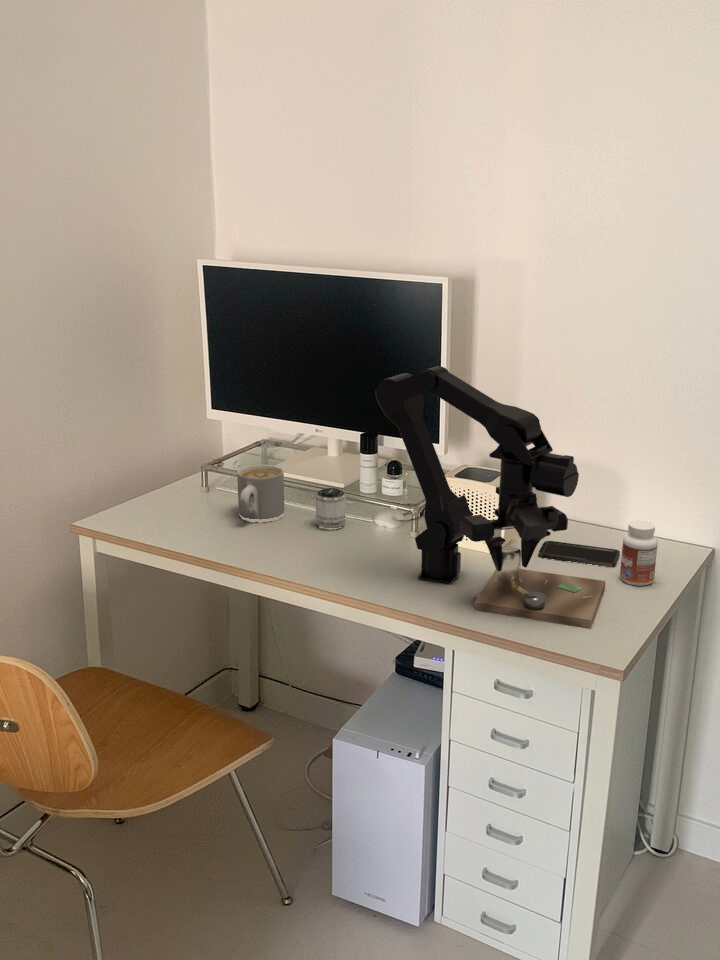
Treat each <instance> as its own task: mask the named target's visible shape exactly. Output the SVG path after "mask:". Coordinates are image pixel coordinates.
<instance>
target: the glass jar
mask: <svg viewBox="0 0 720 960" xmlns="http://www.w3.org/2000/svg"><path fill="white" fill-rule="evenodd" d="M346 496H347V495H346V493H345V492H344V491H343V490H342V489H339V488H337V487H327V488H322V489H320V490H318V491H317V492H316V495H315V517H316V523H317V526H318V525H319V526H321V527H324V528H339V527H342V526H343V525H344V526H345V523H346V517H347V513H346V511H347V509H346V501H347V500H346V499H347V497H346ZM345 514H346V516H345Z"/></svg>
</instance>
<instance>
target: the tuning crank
mask: <svg viewBox="0 0 720 960" xmlns="http://www.w3.org/2000/svg"><path fill="white" fill-rule="evenodd" d="M520 569H521V548H519V547H517V546H510V545H509V546H502V566H501V571H498V570H497V575H495V578H496V579H497V583H498V584H500V585H502V586H507V587H508V588H510V589H511V590H513V591H514V592H516V593H517V594H519V595H521V596H522V597H524V605H525V606H526V607H527V608H530V609H541V608H544V607H545V599H546V596H545V595H544V594H542V593H539V592H527V591H526V590H524V589H522V588H521V587H519V586H518V584H519V577H520Z"/></svg>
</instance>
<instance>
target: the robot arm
mask: <svg viewBox="0 0 720 960" xmlns="http://www.w3.org/2000/svg"><path fill="white" fill-rule="evenodd" d="M428 392H429V393H431V394H433V395H434V396H436V397H438V398H439V399H441V400H443V401H444V402H445V403H448V404H449V405H451V406H452V407H454V408H456V409H457V411H458V410H459V411H461V412H462V413H463V414H465V415H466V416H468V417H469V418H471V419H473V420H474V421H476V422H478V423H479V424H481V426H483V427H484V428H485V431H487V434H488V435H489V438H491V439H492V440H493V441H494V442H495V443H496V444H497V447H496V449H494V450H493V451H492V452H490V453H489V458H493V459H496V460H497V459H498V460H500V471H499V472H500V474H499V486H495V493H496V494H497V495H498V508H495V509H494V515H495V516H496V517H497V519H491V520H489V519H488V518H486V517H485V516H483V515H482V514H475V515H474V513H473V512H472V511H471V509H470V506H469V504H468V500H467V497H466V496H465V495H464V494H463V495H460V496H458V495H456V494H455V493H454V491H452V490H451V487H450V485H449V482H448V480H447V477H446V475H445V473H444V470H443V466H442V464H441V462H440V459H439V456H438V454H437V451H436V448H435V446H434V443H433V440H432V437H431V435H430V433H429V430H428V428H427V425H426V423H425V419H424V409H425V407H424V406H425V399H424V394H425V393H428ZM375 397H376V401H377V403H378V405H379V407H380V409H381V410H382V412H383V414H384V415H385V417H386V418H388V419H389V421H391V422H392V424H394V425H395V426H396V427H397V429H398V431H399V433H400V436H401V439H402V441H403V444H404V446H405V450H406V452H407V454H408V457H409V460H410V463H411V465H412V468H413V470H414V472H415V475H416V478H417V481H418V483H419V486H420V489H421V491H422V493H423V497H424V500H425V503H424V506H425V511H424V515H423V517H424V522H425V526H426V529H424V530H423V531H422V532H421V533H419V534H418V535H417V536H416V537H415V538H414V540H415V544H416V545H415V546H416V548H417V549H418V550H421V566H420V567H421V569H420V570H421V572H420V573H419V575H418V577H417V578H418V579H419V580H423V581H424V580H425V581H431V582H437V583H444V584H452V583H453V582H454V580H455V579H456V578H458V576H459V574H460V573H461V567H462V566H461V564H462V563H461V561H462V560H461V559H462V553H461V552H460V551H459V542H462V541H463V540H464V537H466V538H467V539H469V540H470V541H471V542H476V543H477V542H484V543H485V545H486V547H487V549H488V551H489V554H490V556H491V557H490V558H491V559H492V562H493V565H494V568H495V570H498V571H501V566H502V547H503V545H504V544H505V542H506V539H505V538H504V537H503V536H502V530H503V531H504V530H512V529H515V530H516V533H517V534H518V537H519V538H520V544H521V545H520V550H521V558H520V561H521V566H522V567H523V568H527V567H528V565H529V563H530V561H531V559H532V556H533V555H534V552H535V550H536V548H537V546H538V544H539V543H540V541H541V540H543V539H545V538H546V537H549V536H551V534H552V532H560V531H567V530H568V529H569V525H568V524H569V518H568V515H567V514H566V513H564V512H562V511H561V510H559V509H558V508H556V507H555V506H553V505H550V506H543V507H542V506H541V507H540V506H538V503H537V502H538V498H537V493H535V492H534V491H533V489H535V490H536V491H538V492H542V493H547V494H551V495H555V496H561V497H566V498H570V497H571V496H573V494H574V493H575V491H576V489H577V485H578V482H579V477H580V476H579V475H580V473H579V471H578V467H577V465H576V463H575V462H574V461H575V459H574V456H572V455H566V454H564V455H561V454H557V453H553V451H554V450H553V447H552V445H551V443H550V442H549V440H548V439H547V437H546V435H545V433H544V431H543V430H542V425H541V423H540V419H539V417H538V416H537V415H535V413H533V412H530V411H528V410H525V409H523V408H520V407H517V406H516V405H515V406H514V405H508V404H504V403H502V402H499V401H496V400H495V399H493V398H492V397H490V396H489V395H487V394H485V393H483V392H482V391H480V390H478V389H477V388H476V387H474V386H472V385H471V384H469V383H467V382H465V381H464V380H462V379H461V378H459V377H457V376H456V375H454V374H452V373H451V372H450V371H449V369H447V368H446V367H444V366H442V365H441V366H440V365H437V366H433V367H431V368H428V369H425V370H423V371H422V372H419V373H417V374H414V375H413V374H412V373H406V372H405V373H400V374H396V375H394V376H392V377H388V378H385V379H382V380H381V381H379V383H378V385H377V387H376V390H375ZM530 445H533V447H531V448H529V449H528V447H529V446H530ZM550 530H551V531H552V532H550Z"/></svg>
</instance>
